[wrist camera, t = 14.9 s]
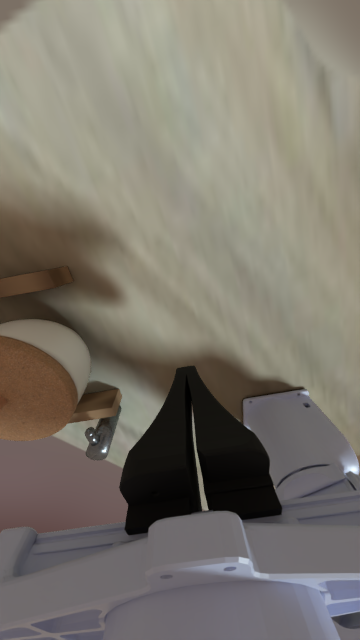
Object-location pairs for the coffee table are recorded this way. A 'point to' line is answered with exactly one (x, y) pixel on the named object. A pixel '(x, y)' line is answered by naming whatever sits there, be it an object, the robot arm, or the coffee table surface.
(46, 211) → the coffee table surface
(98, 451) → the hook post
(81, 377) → the lidded jar
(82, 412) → the walnut shelf
